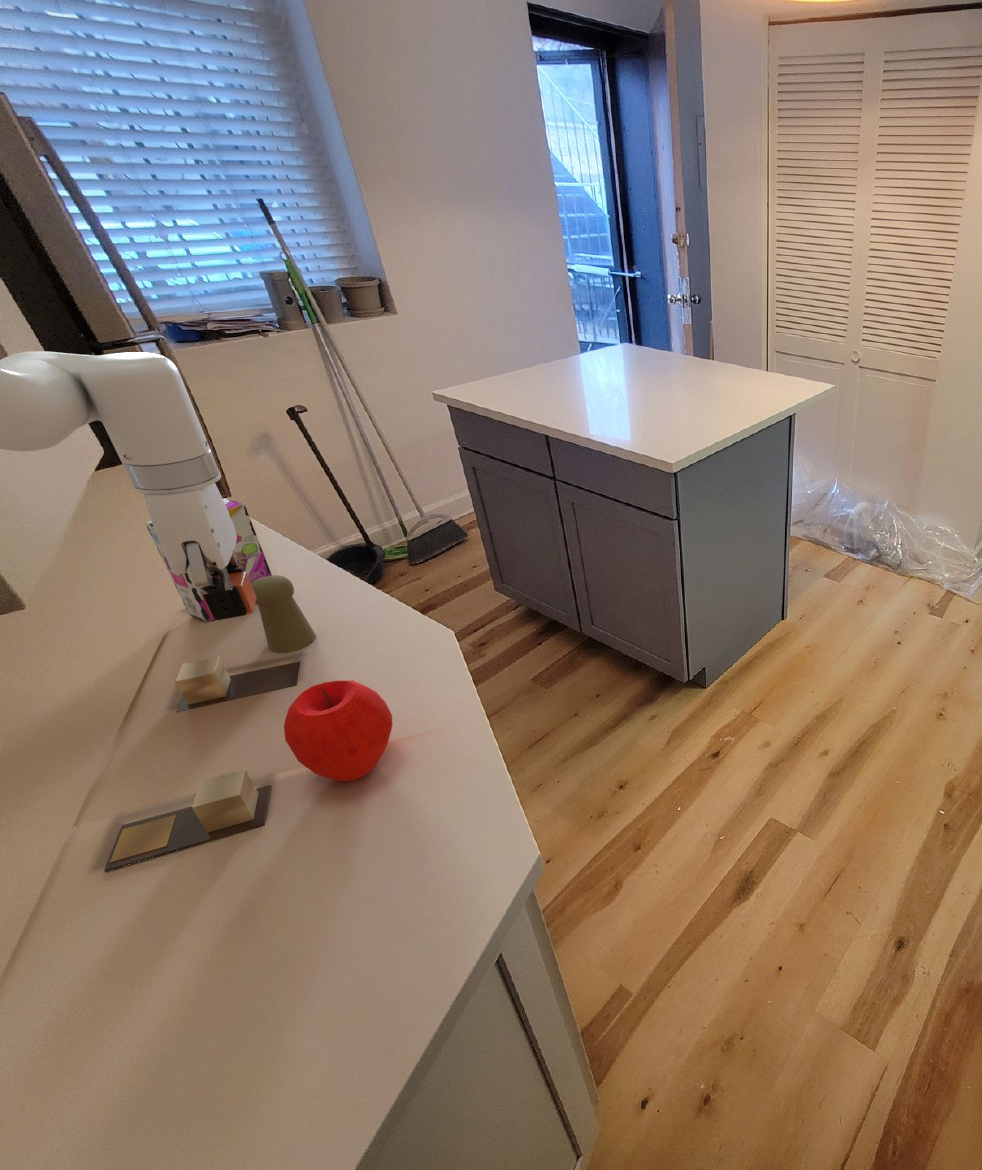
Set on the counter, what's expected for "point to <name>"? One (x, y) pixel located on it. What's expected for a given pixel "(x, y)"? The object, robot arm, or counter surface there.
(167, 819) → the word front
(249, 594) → the orange rounded box
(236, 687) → the grey rectangular tray
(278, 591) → the olive green shaker
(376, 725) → the apple
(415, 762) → the counter surface
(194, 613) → the candy bar box
